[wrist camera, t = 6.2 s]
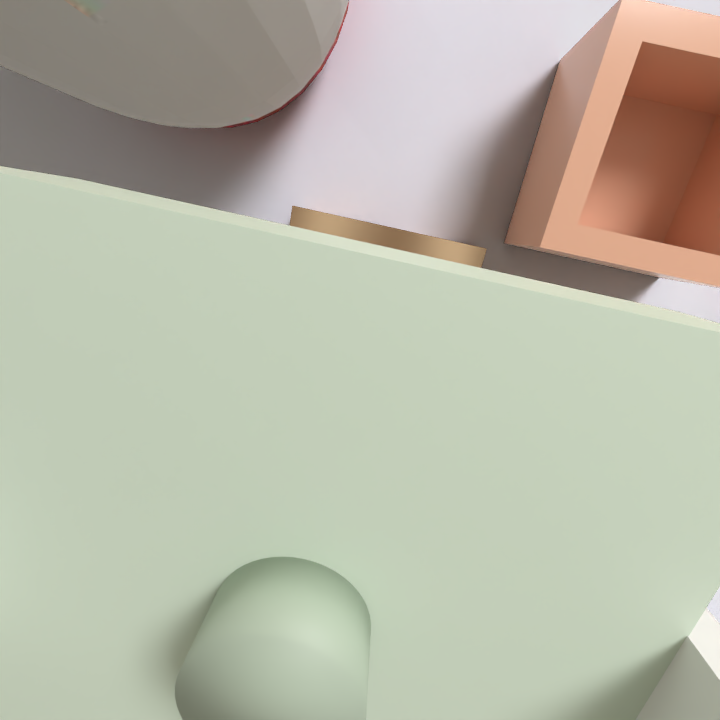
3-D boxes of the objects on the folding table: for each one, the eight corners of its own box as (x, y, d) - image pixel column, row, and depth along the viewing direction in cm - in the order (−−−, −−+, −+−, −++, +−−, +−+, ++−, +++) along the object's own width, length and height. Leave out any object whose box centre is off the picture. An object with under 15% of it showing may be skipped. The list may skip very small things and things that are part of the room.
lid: (79, 626, 11) (-103, 858, 7) (78, 178, 7) (-282, 120, 3) (491, 719, 11) (550, 1007, 7) (678, 311, 7) (1014, 407, 3)
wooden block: (274, 397, 27) (260, 417, 25) (304, 208, 24) (292, 205, 21) (422, 431, 27) (426, 454, 24) (475, 246, 24) (486, 248, 21)
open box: (503, 243, 23) (539, 247, 18) (559, 60, 21) (623, -5, 15) (659, 277, 23) (746, 292, 18) (736, 98, 21) (868, 48, 15)
